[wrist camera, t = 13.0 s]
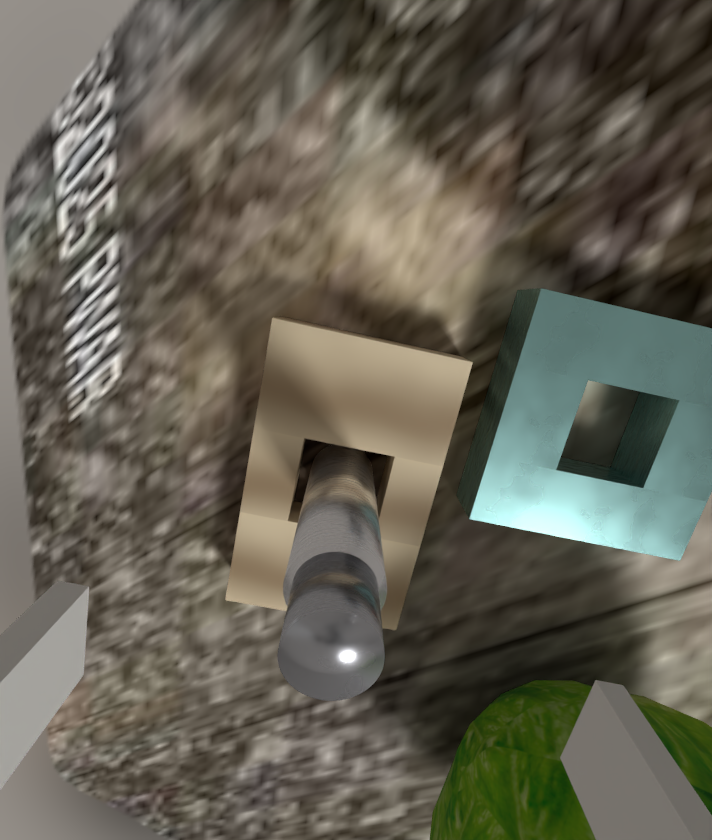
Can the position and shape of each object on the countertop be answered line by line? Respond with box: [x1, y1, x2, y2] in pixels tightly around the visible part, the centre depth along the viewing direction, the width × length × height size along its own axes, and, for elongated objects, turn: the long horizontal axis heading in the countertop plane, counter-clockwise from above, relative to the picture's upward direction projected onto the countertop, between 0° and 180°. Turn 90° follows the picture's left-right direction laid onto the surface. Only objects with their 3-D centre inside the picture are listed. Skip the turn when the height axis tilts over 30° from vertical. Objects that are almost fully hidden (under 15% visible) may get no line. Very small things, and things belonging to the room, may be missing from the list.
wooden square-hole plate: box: [225, 316, 473, 630], centre depth 25 cm, size 16×10×2 cm, turn 168°
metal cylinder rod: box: [278, 444, 387, 701], centre depth 19 cm, size 4×4×14 cm
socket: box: [457, 288, 712, 561], centre depth 24 cm, size 12×12×3 cm
